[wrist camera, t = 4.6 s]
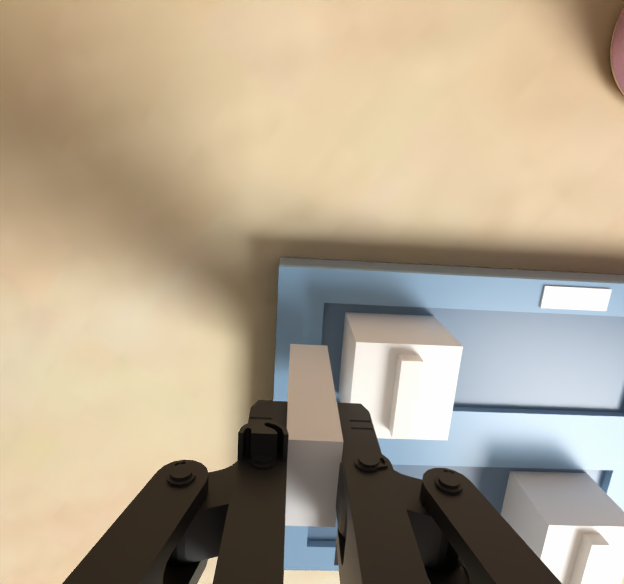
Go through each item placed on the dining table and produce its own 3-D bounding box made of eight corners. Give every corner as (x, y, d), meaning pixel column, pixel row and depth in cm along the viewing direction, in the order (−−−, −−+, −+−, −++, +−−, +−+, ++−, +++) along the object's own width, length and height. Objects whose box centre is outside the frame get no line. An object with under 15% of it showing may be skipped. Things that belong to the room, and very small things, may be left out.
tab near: (338, 393, 21) (349, 446, 17) (345, 312, 19) (358, 348, 16) (422, 396, 21) (452, 449, 17) (433, 315, 20) (469, 353, 16)
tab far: (496, 535, 23) (537, 610, 19) (510, 470, 22) (557, 536, 18) (569, 537, 23) (625, 611, 20) (586, 473, 22) (649, 538, 18)
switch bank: (268, 538, 25) (266, 571, 23) (280, 257, 20) (279, 266, 18) (611, 543, 26) (638, 575, 24) (691, 278, 21) (732, 289, 19)
